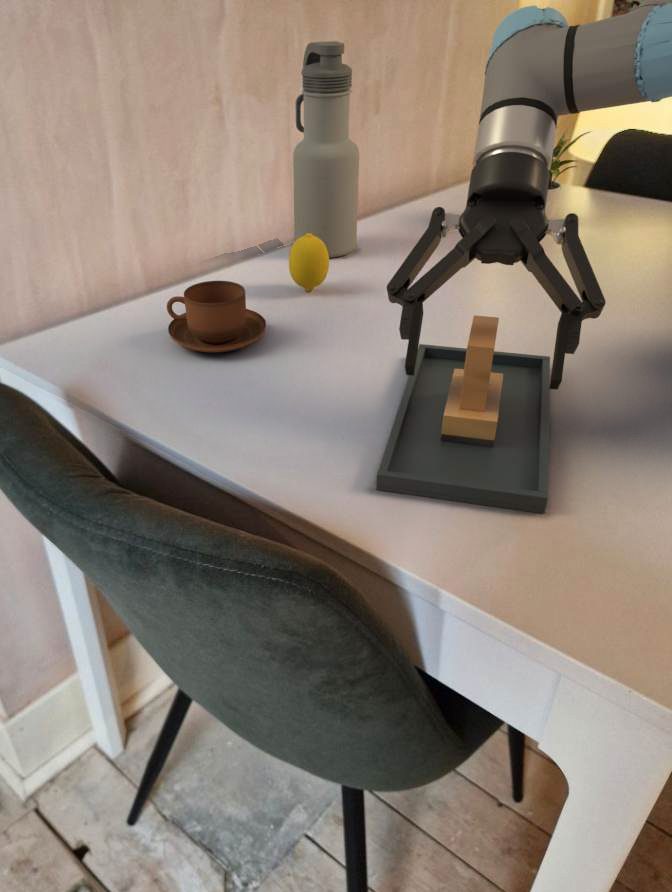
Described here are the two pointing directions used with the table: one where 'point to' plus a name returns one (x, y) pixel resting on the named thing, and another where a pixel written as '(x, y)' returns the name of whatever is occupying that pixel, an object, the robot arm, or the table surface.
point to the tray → (462, 465)
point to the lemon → (308, 262)
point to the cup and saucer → (215, 318)
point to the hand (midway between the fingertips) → (480, 378)
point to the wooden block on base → (475, 390)
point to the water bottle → (326, 152)
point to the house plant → (557, 173)
